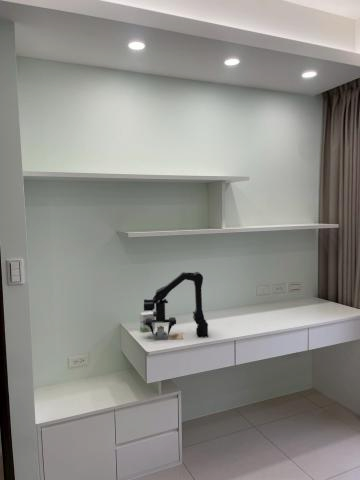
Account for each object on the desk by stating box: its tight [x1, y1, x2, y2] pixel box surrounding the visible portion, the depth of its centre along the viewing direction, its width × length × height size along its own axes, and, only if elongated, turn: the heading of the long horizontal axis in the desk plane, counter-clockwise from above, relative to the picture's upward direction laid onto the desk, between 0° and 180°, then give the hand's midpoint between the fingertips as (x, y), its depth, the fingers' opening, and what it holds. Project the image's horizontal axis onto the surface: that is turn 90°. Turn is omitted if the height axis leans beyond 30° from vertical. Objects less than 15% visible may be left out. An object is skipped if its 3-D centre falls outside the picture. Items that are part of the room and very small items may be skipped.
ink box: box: [139, 311, 156, 333], centre depth 240 cm, size 8×5×12 cm, turn 116°
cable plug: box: [156, 325, 165, 336], centre depth 227 cm, size 4×5×7 cm
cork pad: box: [167, 333, 184, 341], centre depth 229 cm, size 9×9×1 cm
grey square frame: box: [153, 331, 169, 341], centre depth 228 cm, size 8×9×2 cm
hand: (160, 334), depth 228 cm, fingers open, 9 cm apart
